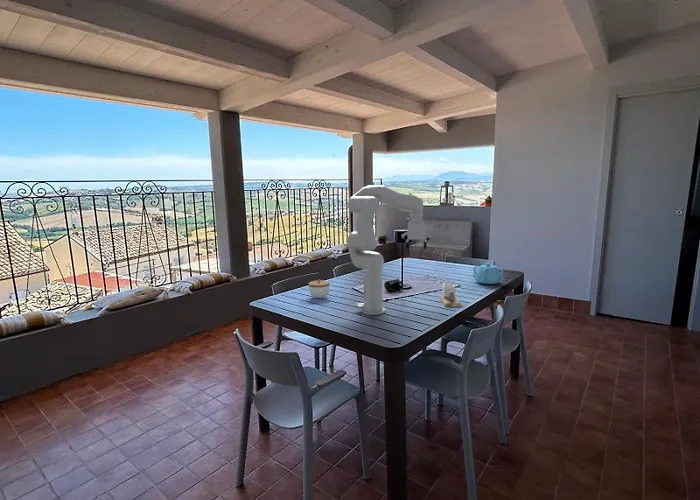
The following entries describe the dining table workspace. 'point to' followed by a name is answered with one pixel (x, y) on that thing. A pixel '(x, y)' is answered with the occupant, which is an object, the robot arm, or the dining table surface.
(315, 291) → the lidded bowl
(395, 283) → the end cap
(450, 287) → the sleeve
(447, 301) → the pin board
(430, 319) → the dining table surface
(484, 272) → the decorative pot
